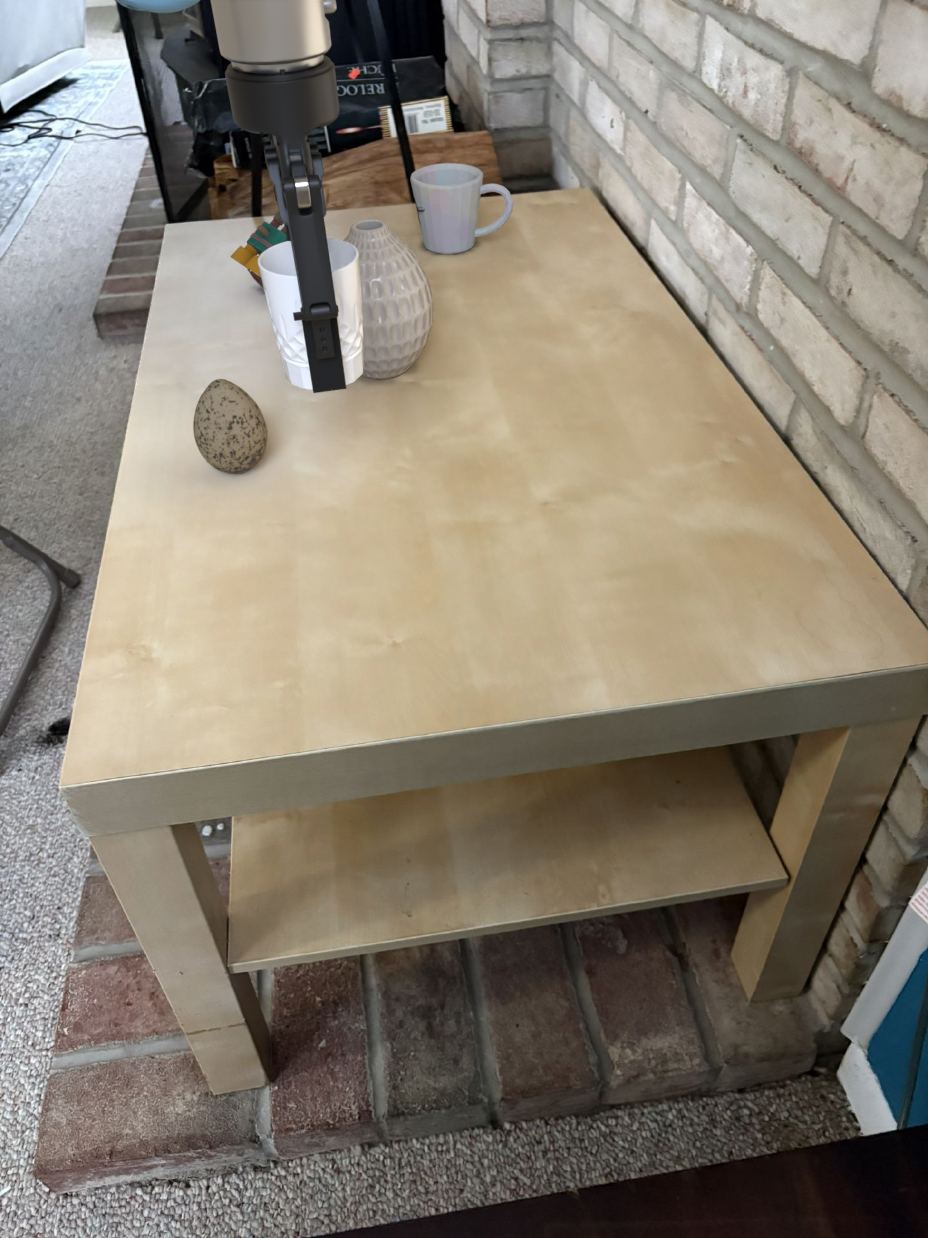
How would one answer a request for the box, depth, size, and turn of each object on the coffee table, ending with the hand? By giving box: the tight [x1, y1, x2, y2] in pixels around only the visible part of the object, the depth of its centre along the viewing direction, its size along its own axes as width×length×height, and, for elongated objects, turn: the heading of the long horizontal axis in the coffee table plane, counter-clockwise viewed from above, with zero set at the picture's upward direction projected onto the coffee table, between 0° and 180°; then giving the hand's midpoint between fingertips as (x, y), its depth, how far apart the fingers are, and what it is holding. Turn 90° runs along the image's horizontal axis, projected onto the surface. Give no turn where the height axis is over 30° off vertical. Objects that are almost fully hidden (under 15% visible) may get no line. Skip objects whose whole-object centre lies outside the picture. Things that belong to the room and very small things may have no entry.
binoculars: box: [229, 210, 287, 290], centre depth 124 cm, size 9×9×10 cm
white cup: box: [258, 237, 364, 391], centre depth 75 cm, size 8×8×10 cm
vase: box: [342, 218, 434, 380], centre depth 105 cm, size 13×13×17 cm
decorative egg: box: [192, 378, 268, 475], centre depth 92 cm, size 7×7×10 cm
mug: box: [409, 162, 515, 255], centre depth 134 cm, size 10×15×10 cm
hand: (323, 365), depth 78 cm, fingers closed on white cup, 8 cm apart
